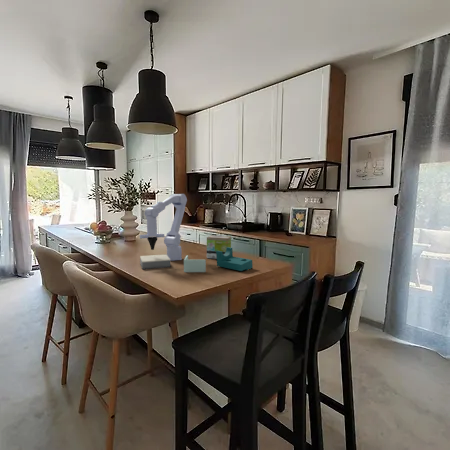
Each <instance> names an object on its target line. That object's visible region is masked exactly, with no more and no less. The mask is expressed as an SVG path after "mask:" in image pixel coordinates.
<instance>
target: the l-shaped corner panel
mask: <svg viewBox="0 0 450 450" xmlns="http://www.w3.org/2000/svg"><path fill="white" fill-rule="evenodd" d="M206 260H207V259H189V255H185V257H184V259H183V272H184V273H206V271H207V269H206V268H207V267H206V266H207V265H206Z"/></svg>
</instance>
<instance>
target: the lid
mask: <svg viewBox="0 0 450 450" xmlns="http://www.w3.org/2000/svg"><path fill="white" fill-rule="evenodd" d="M139 258H141V261H142V262H155V261H168V260H170V258H169V257H168V256H167V253H165V254H155V255H154V254H152V255H139Z"/></svg>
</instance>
